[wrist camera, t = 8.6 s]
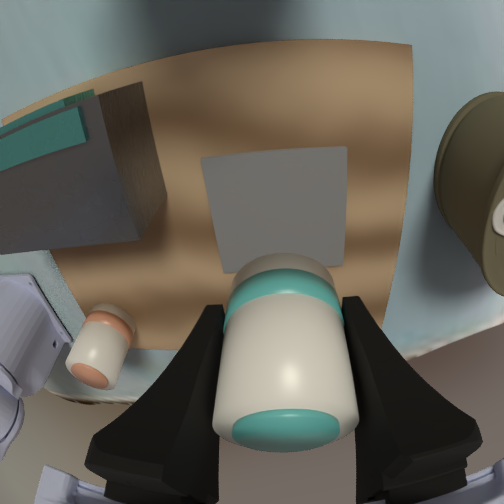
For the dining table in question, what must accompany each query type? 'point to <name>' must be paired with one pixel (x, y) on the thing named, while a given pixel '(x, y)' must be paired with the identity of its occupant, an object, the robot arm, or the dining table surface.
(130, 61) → the dining table surface
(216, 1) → the dining table surface
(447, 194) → the can
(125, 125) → the box
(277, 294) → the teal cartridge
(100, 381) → the cylinder
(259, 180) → the mat
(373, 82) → the board
